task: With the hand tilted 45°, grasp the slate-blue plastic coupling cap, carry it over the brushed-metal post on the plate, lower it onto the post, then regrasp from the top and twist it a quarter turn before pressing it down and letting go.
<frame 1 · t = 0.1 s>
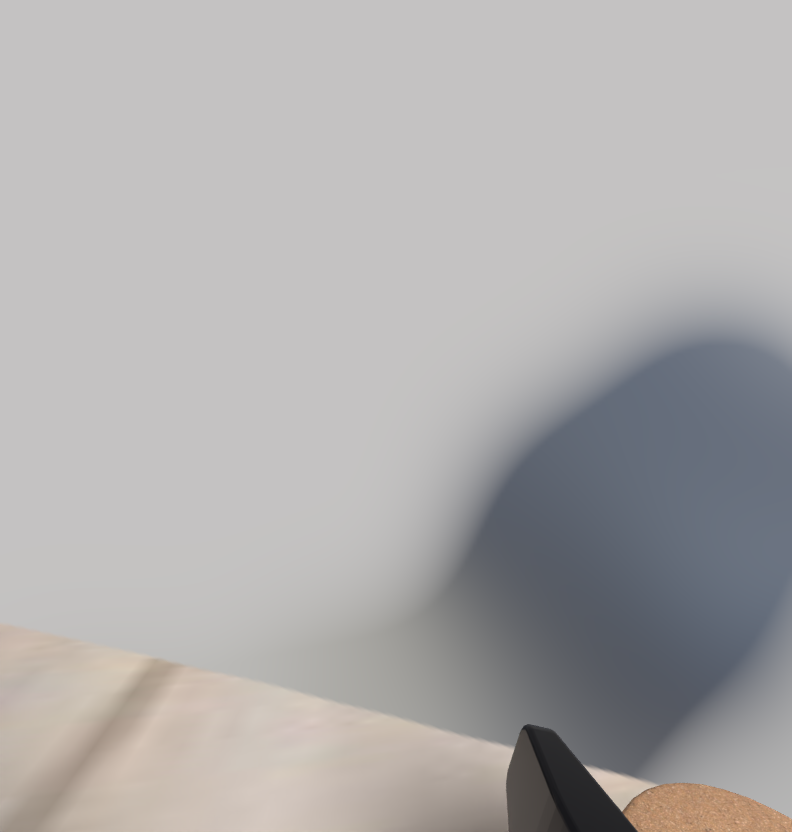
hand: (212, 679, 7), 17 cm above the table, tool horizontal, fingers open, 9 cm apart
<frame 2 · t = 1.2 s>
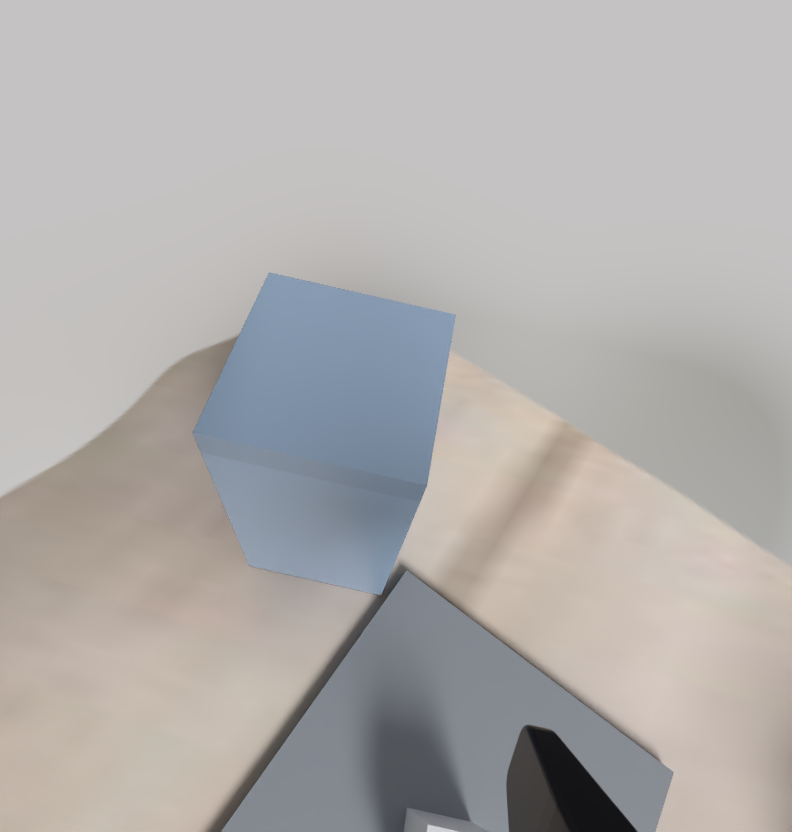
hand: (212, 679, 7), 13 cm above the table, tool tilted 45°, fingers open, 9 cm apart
coupling cap: (332, 518, 23), on the table
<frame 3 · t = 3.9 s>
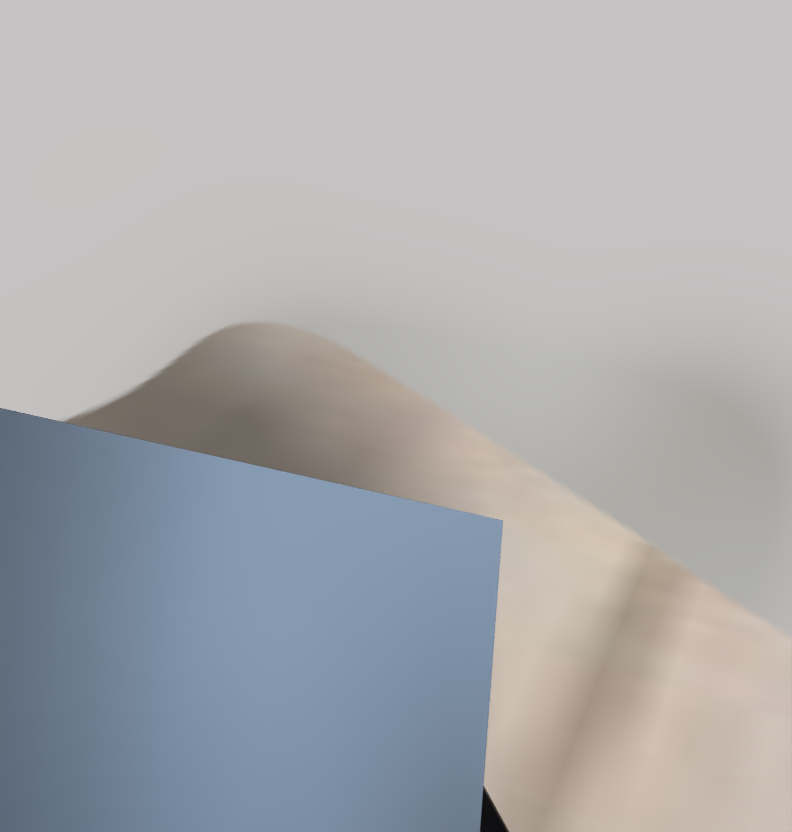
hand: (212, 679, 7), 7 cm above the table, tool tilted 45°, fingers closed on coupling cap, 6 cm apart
coupling cap: (240, 769, 12), on the table, touching gripper
when the fingers open (8 cm above the table, at t = 7.7 s): coupling cap stays where it is, resting on lock post.
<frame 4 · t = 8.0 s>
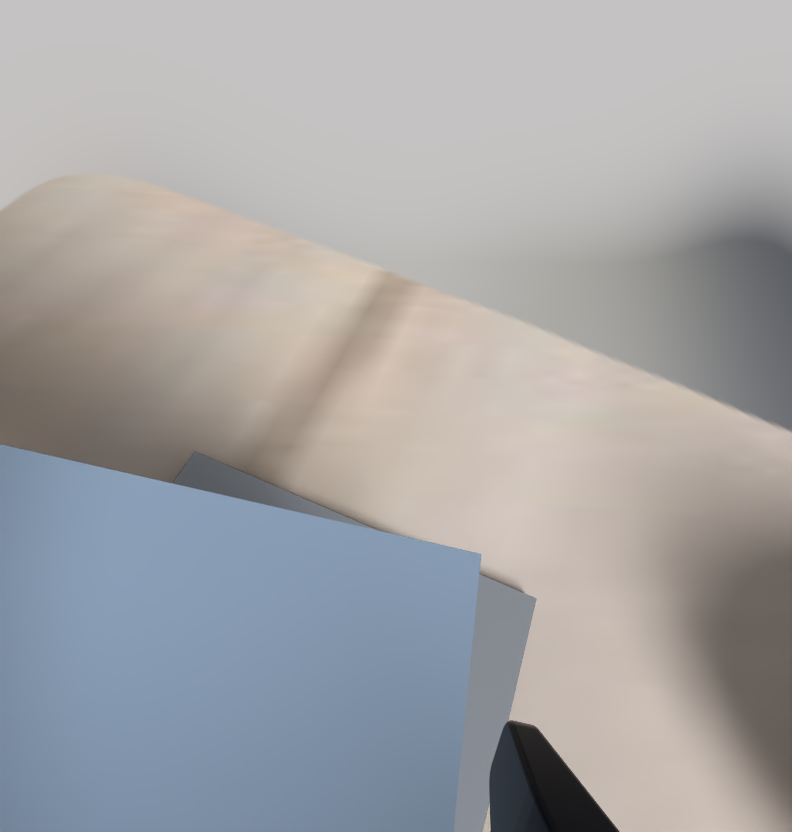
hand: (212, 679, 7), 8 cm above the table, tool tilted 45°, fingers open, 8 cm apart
lock post: (248, 766, 13), on the table
coupling cap: (244, 769, 13), resting on lock post
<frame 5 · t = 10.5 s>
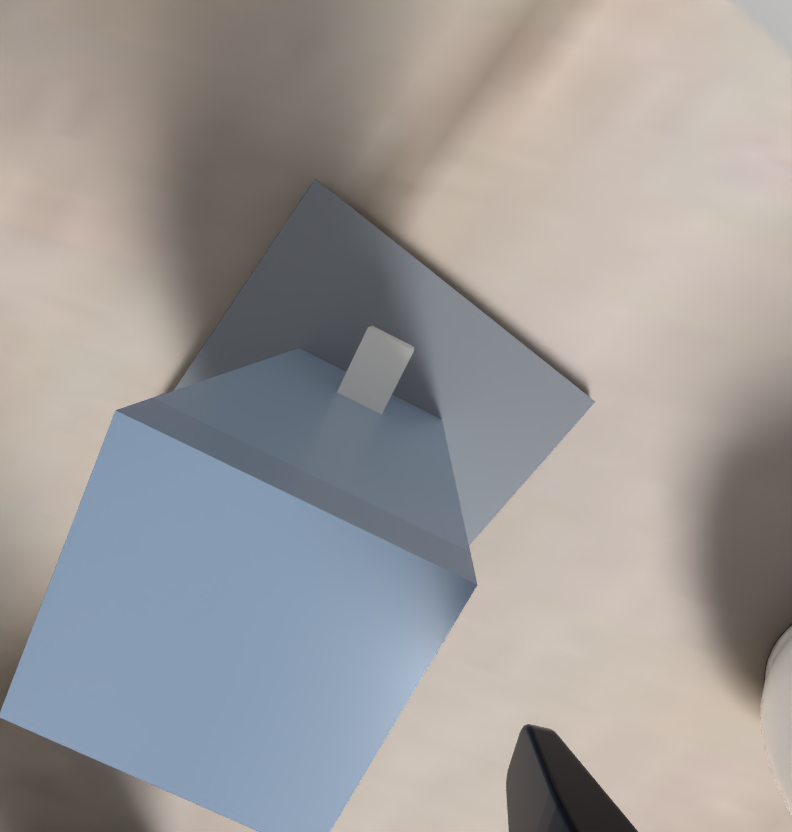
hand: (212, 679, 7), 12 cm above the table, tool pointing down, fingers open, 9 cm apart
lock post: (340, 448, 19), on the table
coupling cap: (337, 452, 18), resting on lock post
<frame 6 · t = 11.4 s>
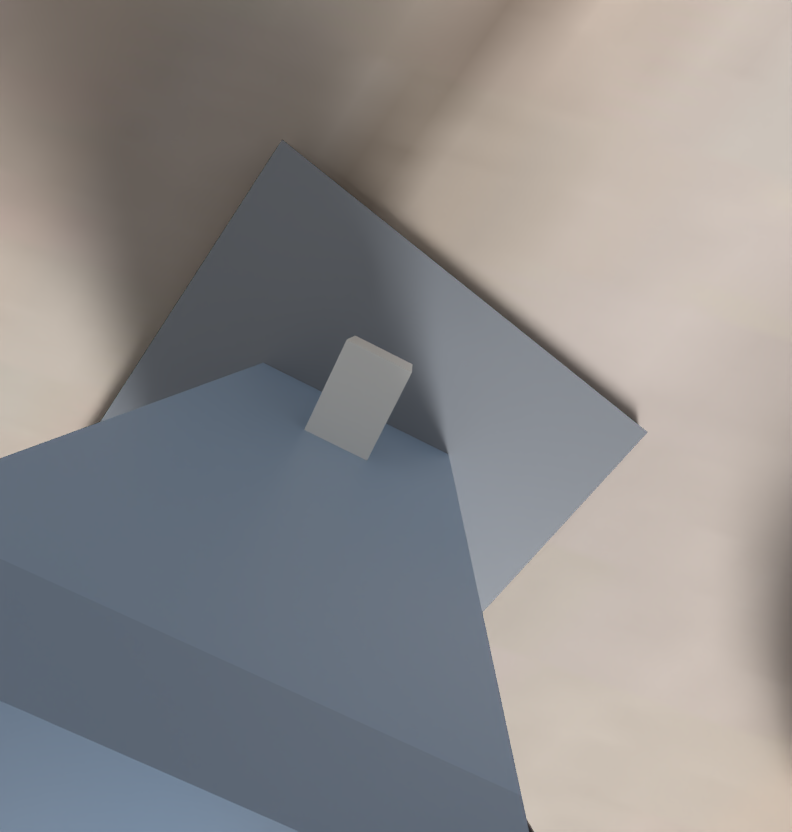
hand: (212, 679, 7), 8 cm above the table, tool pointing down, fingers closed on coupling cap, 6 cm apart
lock post: (318, 488, 15), on the table
coupling cap: (314, 495, 14), point 1 cm above the table, touching gripper, lock post
when the fingers open (8 cm above the table, at t = 13.6 s): coupling cap stays where it is, resting on lock post.
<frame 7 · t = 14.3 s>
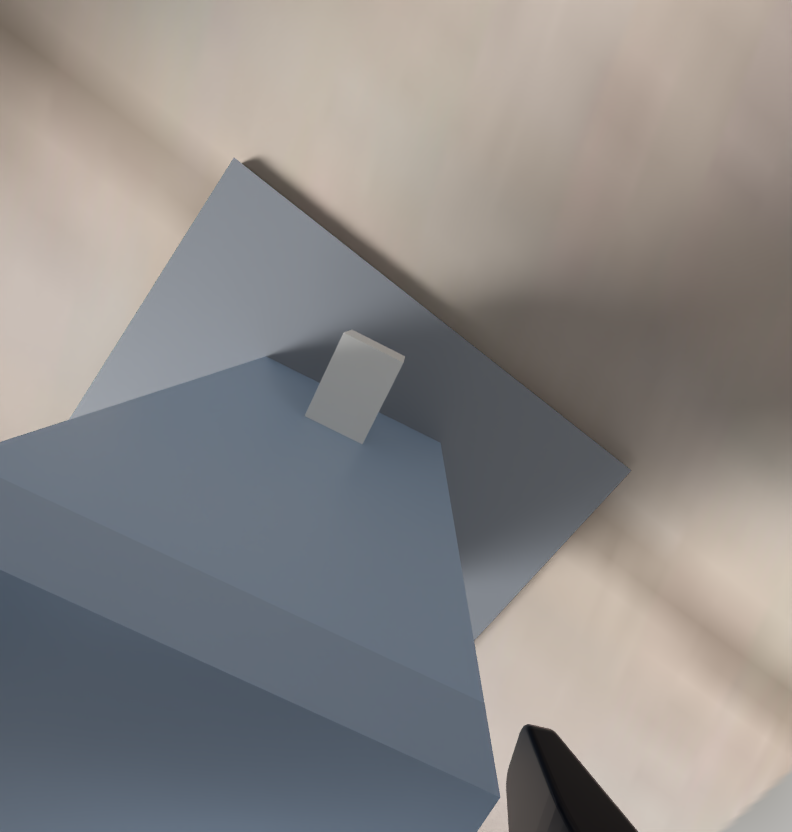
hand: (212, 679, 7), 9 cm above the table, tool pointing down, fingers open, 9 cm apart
lock post: (320, 477, 16), on the table
coupling cap: (314, 482, 15), resting on lock post
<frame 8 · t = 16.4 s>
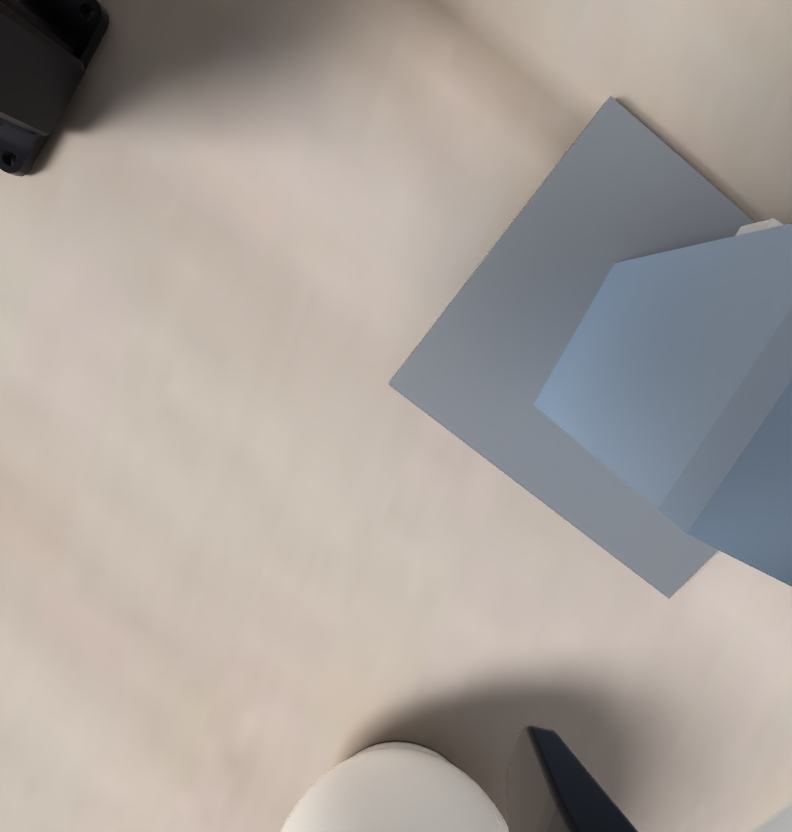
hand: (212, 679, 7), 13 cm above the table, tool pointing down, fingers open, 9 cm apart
lock post: (637, 370, 19), on the table
coupling cap: (640, 371, 18), resting on lock post
lidded jar: (399, 792, 24), on the table
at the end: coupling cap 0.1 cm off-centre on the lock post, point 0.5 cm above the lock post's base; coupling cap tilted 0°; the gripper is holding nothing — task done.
